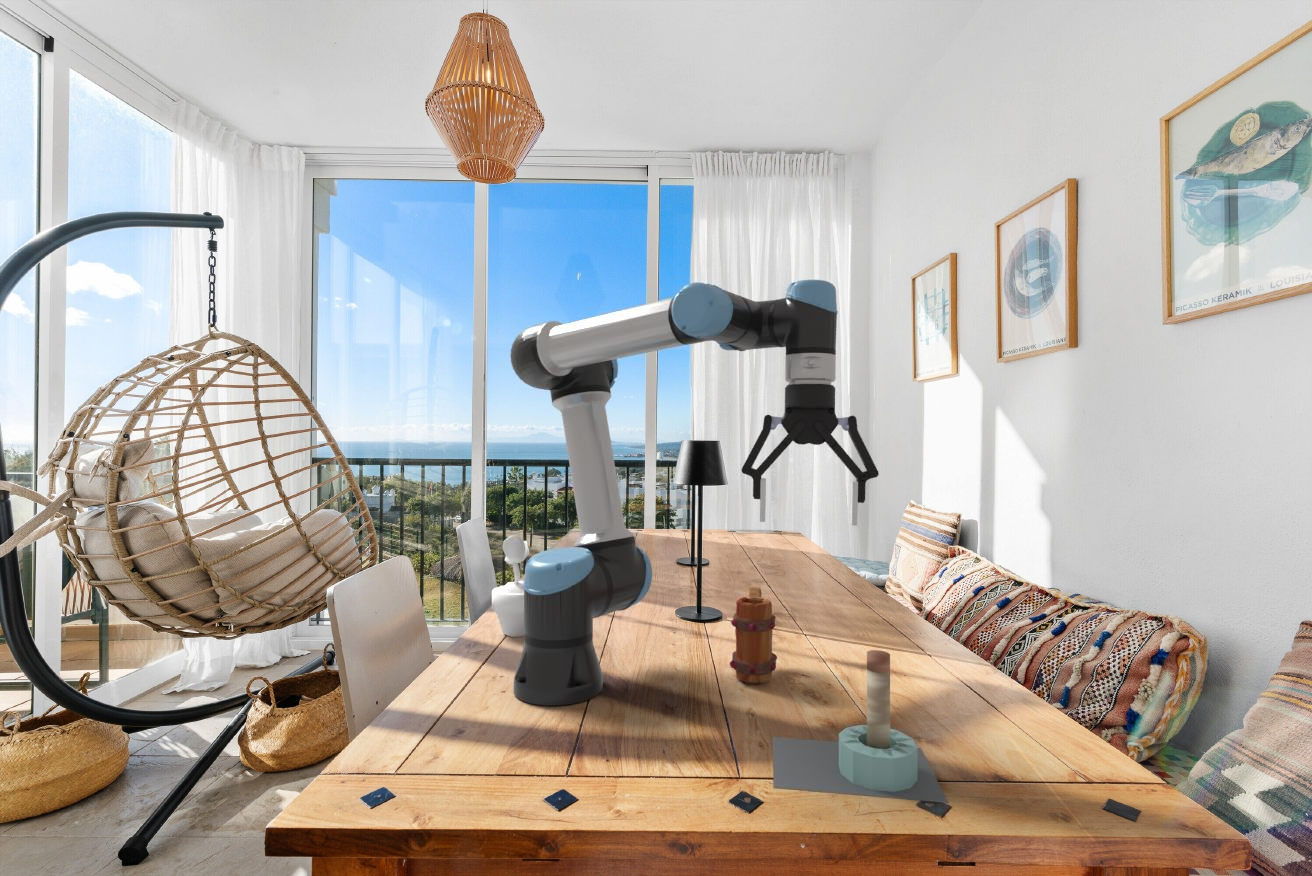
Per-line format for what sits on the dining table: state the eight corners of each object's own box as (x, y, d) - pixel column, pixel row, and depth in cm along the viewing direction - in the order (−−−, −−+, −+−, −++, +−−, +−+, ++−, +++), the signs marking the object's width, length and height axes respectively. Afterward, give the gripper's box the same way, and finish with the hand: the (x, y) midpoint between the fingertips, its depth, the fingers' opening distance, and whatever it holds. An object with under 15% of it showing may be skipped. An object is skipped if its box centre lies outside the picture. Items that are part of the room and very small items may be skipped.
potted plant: (534, 642, 141) (535, 524, 141) (482, 639, 142) (483, 522, 143) (553, 626, 153) (553, 517, 153) (505, 624, 155) (505, 516, 155)
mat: (773, 792, 80) (773, 787, 80) (772, 741, 94) (772, 737, 94) (948, 807, 77) (948, 802, 77) (920, 752, 91) (920, 748, 91)
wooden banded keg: (776, 691, 113) (776, 602, 114) (728, 687, 115) (728, 600, 115) (778, 663, 128) (778, 584, 128) (735, 660, 129) (735, 582, 129)
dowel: (867, 776, 83) (867, 656, 83) (865, 766, 86) (865, 649, 86) (891, 779, 82) (891, 657, 83) (888, 768, 85) (888, 651, 85)
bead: (843, 787, 80) (843, 754, 80) (835, 752, 90) (835, 723, 90) (923, 794, 79) (923, 760, 79) (907, 758, 88) (907, 727, 88)
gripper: (726, 381, 100) (723, 522, 100) (899, 382, 96) (897, 529, 96) (730, 385, 108) (727, 516, 108) (891, 386, 103) (889, 522, 103)
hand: (807, 522), depth 102 cm, fingers open, 13 cm apart
